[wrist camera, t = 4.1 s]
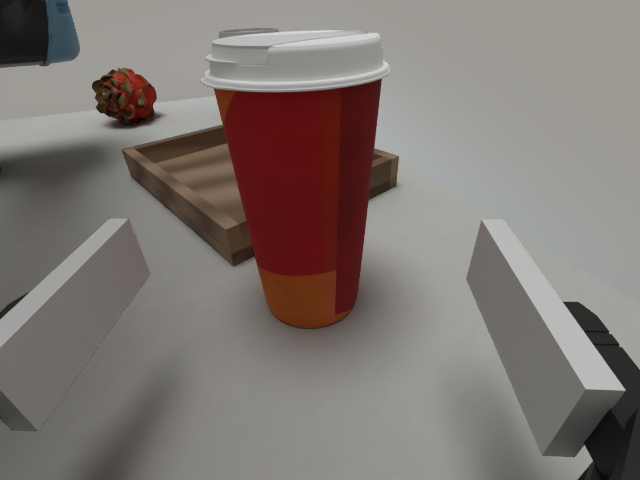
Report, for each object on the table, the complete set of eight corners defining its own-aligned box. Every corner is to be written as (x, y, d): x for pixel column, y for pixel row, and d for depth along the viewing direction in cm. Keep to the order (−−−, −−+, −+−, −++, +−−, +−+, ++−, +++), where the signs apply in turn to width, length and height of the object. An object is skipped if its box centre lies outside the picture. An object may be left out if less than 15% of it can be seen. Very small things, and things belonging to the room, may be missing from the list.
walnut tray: (131, 176, 39) (121, 149, 37) (267, 137, 48) (264, 114, 47) (233, 265, 25) (225, 229, 23) (396, 185, 34) (398, 156, 33)
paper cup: (334, 245, 26) (330, 26, 18) (400, 310, 21) (436, 33, 13) (231, 281, 23) (176, 38, 15) (276, 368, 18) (224, 53, 10)
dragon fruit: (124, 143, 53) (141, 132, 64) (163, 103, 52) (174, 99, 63) (70, 97, 49) (98, 93, 60) (111, 53, 48) (132, 57, 59)
